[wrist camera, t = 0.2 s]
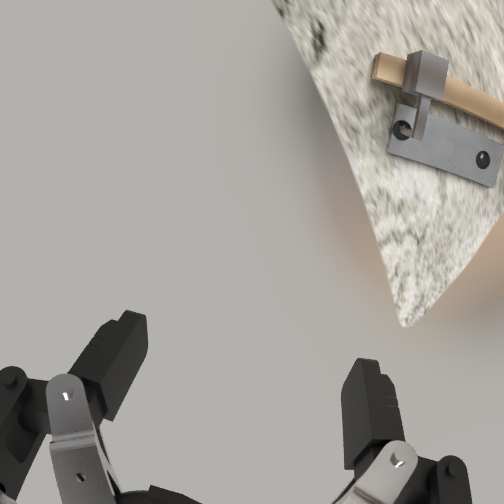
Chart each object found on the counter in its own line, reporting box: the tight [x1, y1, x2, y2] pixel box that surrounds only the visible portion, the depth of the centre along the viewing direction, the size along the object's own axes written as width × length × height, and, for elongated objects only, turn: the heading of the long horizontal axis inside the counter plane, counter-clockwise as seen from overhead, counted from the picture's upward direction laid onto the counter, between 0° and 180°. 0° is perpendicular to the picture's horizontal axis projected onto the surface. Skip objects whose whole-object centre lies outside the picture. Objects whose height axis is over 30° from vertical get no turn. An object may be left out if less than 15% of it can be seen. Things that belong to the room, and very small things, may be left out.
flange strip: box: [387, 103, 504, 188], centre depth 32 cm, size 6×16×1 cm, turn 82°
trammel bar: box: [372, 50, 504, 141], centre depth 27 cm, size 9×24×7 cm, turn 82°
